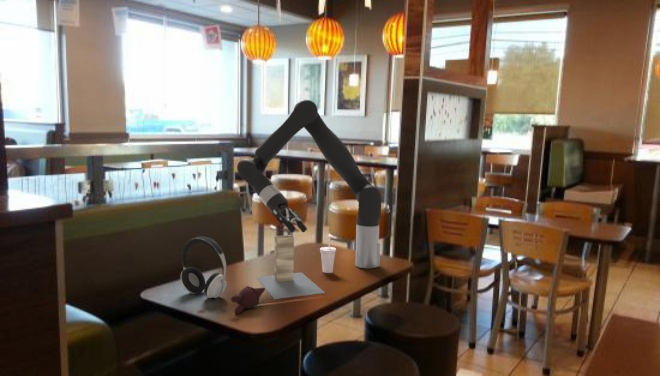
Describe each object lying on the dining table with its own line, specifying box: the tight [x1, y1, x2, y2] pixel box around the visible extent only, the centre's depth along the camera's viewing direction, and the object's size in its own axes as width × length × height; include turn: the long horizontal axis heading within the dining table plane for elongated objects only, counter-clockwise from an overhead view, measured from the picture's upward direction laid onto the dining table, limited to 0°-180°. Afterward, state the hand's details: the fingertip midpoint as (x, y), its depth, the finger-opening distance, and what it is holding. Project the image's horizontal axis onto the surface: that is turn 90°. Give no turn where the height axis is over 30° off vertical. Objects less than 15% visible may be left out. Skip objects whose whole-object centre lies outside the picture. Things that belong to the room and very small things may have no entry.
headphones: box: [180, 235, 228, 299], centre depth 162 cm, size 19×8×20 cm, turn 60°
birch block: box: [273, 234, 295, 282], centre depth 179 cm, size 4×6×16 cm
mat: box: [255, 272, 326, 300], centre depth 175 cm, size 24×18×1 cm
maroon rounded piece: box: [230, 285, 266, 315], centre depth 154 cm, size 7×7×15 cm
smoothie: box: [319, 237, 337, 274], centre depth 190 cm, size 6×6×14 cm
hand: (299, 230), depth 179 cm, fingers open, 8 cm apart
